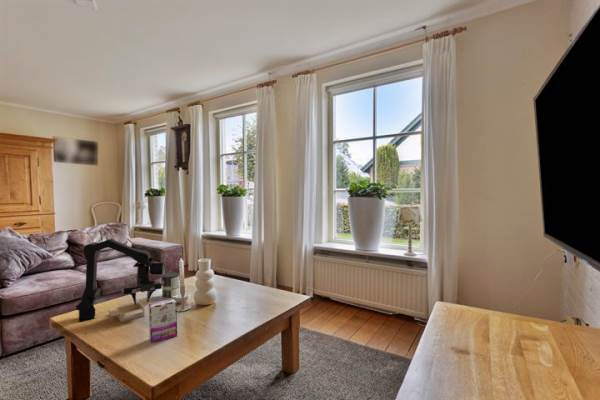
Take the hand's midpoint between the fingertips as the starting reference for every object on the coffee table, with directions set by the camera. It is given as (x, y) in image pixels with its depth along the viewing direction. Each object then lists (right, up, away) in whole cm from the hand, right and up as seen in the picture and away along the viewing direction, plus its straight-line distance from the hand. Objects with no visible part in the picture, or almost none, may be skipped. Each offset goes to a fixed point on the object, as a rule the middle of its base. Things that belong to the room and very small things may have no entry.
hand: (141, 303), depth 159 cm
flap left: (-8, -1, +1) cm, 8 cm away
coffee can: (+4, -5, +27) cm, 28 cm away
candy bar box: (+24, -7, -25) cm, 36 cm away
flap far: (0, -1, +1) cm, 2 cm away
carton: (-5, -6, -5) cm, 9 cm away
